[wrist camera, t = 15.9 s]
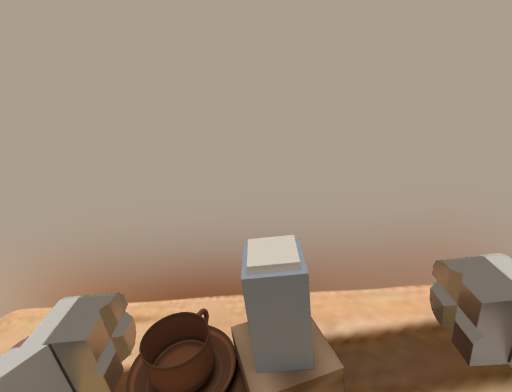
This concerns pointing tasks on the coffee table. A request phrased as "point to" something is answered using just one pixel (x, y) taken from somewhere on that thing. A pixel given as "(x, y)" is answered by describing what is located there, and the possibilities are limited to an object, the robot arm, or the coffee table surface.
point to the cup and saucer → (183, 357)
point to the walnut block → (295, 381)
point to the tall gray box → (277, 304)
